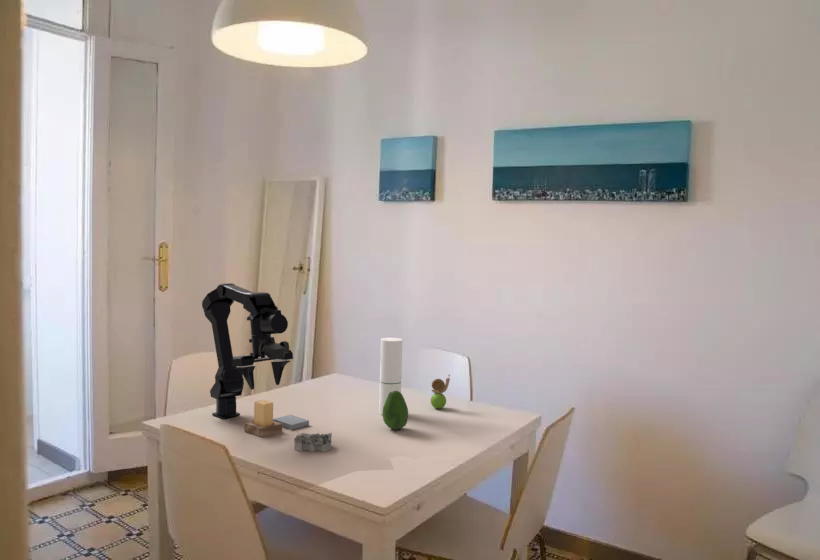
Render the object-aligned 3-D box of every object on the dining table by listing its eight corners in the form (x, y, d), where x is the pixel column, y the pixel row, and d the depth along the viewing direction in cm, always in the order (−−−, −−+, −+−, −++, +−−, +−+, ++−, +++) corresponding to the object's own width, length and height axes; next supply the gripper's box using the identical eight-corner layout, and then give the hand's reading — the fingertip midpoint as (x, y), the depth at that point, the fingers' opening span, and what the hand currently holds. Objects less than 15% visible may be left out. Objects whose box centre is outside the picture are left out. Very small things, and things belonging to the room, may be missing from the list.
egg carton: (292, 452, 183) (292, 438, 183) (296, 443, 191) (296, 430, 190) (329, 453, 183) (330, 438, 183) (333, 444, 191) (333, 430, 190)
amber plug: (253, 431, 200) (254, 401, 199) (263, 428, 203) (263, 399, 202) (263, 434, 197) (263, 404, 196) (272, 432, 200) (273, 402, 199)
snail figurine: (449, 410, 229) (450, 376, 228) (430, 410, 229) (431, 375, 228) (448, 406, 234) (449, 372, 233) (430, 406, 234) (431, 372, 233)
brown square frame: (244, 431, 200) (244, 422, 200) (264, 425, 205) (264, 417, 205) (261, 437, 194) (262, 429, 194) (282, 431, 200) (282, 423, 200)
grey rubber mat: (272, 423, 208) (272, 418, 208) (290, 419, 213) (290, 414, 213) (291, 429, 202) (291, 425, 202) (308, 425, 208) (309, 420, 208)
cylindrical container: (401, 410, 227) (403, 338, 225) (398, 416, 220) (401, 341, 218) (380, 409, 227) (382, 337, 225) (377, 415, 220) (379, 340, 218)
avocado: (391, 424, 211) (392, 386, 211) (412, 428, 207) (413, 390, 207) (377, 430, 205) (378, 391, 204) (398, 434, 201) (399, 395, 200)
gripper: (251, 336, 187) (256, 392, 186) (302, 330, 201) (307, 382, 201) (228, 338, 194) (232, 391, 194) (279, 332, 208) (283, 382, 208)
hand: (265, 387), depth 199 cm, fingers open, 9 cm apart
